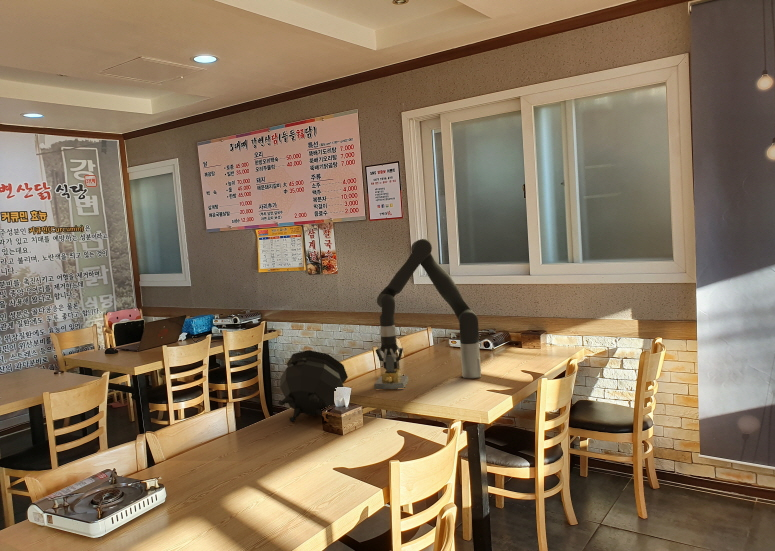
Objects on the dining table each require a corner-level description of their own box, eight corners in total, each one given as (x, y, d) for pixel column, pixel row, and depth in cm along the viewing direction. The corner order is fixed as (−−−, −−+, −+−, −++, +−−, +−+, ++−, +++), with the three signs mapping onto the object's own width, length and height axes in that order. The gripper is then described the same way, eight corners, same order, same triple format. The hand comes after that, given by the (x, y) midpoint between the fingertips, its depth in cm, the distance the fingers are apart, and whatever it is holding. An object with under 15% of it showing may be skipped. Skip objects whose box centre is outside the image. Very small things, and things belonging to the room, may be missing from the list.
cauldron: (259, 413, 241) (275, 366, 259) (319, 439, 249) (330, 392, 267) (288, 383, 224) (302, 335, 241) (351, 411, 232) (360, 363, 250)
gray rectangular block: (395, 374, 287) (394, 354, 287) (394, 376, 284) (393, 356, 284) (387, 374, 288) (386, 354, 287) (386, 376, 285) (385, 356, 284)
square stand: (408, 381, 292) (407, 367, 292) (403, 389, 279) (402, 374, 278) (381, 381, 295) (380, 368, 294) (375, 389, 281) (373, 375, 281)
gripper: (403, 332, 287) (406, 366, 288) (375, 333, 290) (378, 367, 291) (401, 335, 280) (403, 370, 281) (372, 336, 282) (375, 371, 284)
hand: (390, 368), depth 286 cm, fingers closed on gray rectangular block, 4 cm apart
